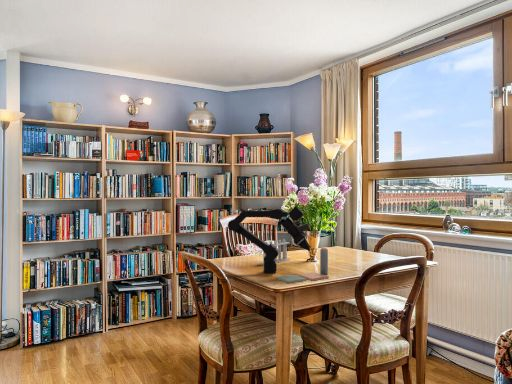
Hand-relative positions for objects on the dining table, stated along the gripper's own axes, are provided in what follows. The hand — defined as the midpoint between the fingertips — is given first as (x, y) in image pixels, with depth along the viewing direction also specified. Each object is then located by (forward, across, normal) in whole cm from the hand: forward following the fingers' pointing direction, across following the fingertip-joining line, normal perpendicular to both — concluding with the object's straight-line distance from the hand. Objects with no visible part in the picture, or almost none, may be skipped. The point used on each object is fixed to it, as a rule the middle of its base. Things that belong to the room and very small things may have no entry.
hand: (309, 249), depth 213 cm
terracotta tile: (+11, -9, +8) cm, 16 cm away
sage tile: (+3, -16, +16) cm, 23 cm away
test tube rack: (-4, +30, +24) cm, 39 cm away
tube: (+15, 0, +3) cm, 15 cm away
